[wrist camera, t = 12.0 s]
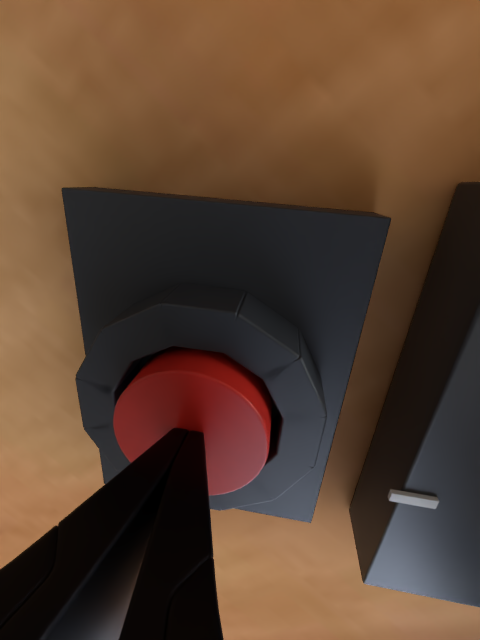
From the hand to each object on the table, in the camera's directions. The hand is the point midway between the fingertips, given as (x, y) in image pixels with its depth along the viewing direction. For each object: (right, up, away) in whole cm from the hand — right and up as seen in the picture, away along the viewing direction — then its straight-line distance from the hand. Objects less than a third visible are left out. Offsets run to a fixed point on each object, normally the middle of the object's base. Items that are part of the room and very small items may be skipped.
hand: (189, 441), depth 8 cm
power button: (0, +1, +2) cm, 2 cm away
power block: (+1, +2, +4) cm, 4 cm away
